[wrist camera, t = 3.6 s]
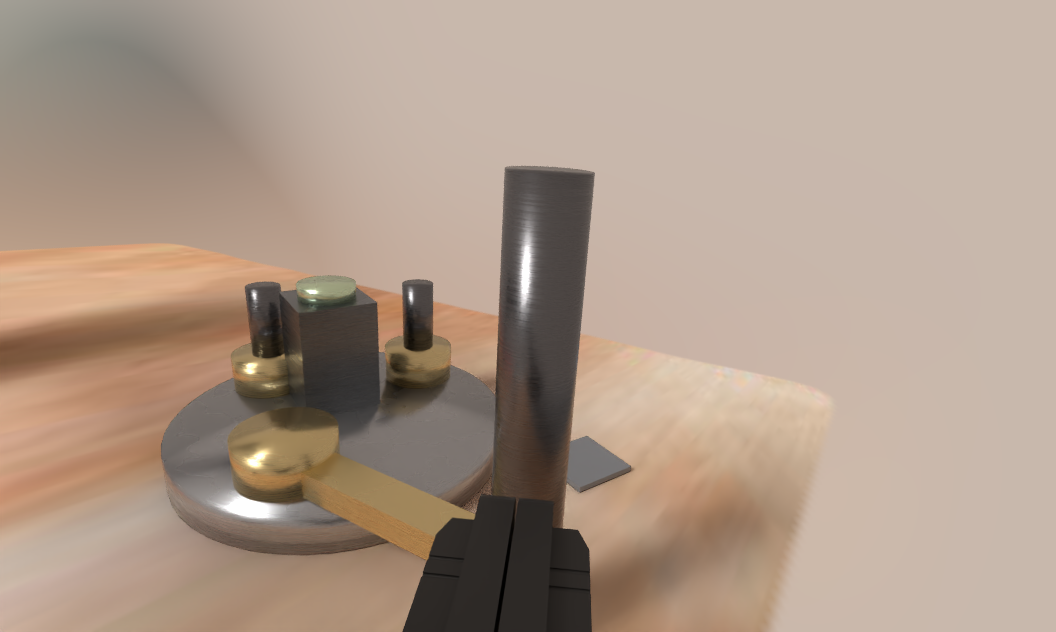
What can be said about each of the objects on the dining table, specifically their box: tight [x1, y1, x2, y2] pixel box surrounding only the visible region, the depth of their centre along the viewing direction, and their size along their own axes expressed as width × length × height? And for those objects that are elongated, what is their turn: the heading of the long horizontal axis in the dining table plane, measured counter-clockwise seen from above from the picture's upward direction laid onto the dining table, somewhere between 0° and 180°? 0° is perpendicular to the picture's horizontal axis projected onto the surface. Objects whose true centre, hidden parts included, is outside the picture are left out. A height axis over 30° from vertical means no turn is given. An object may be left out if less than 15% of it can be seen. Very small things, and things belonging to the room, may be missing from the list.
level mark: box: [567, 436, 631, 492], centre depth 31 cm, size 4×4×1 cm
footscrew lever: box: [227, 166, 595, 560], centre depth 20 cm, size 15×4×14 cm, turn 60°
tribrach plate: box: [161, 276, 495, 555], centre depth 30 cm, size 17×17×9 cm
